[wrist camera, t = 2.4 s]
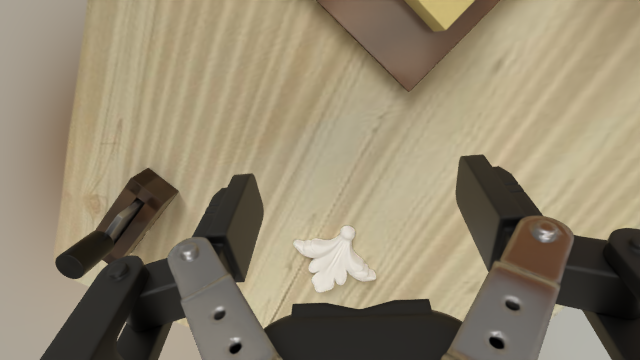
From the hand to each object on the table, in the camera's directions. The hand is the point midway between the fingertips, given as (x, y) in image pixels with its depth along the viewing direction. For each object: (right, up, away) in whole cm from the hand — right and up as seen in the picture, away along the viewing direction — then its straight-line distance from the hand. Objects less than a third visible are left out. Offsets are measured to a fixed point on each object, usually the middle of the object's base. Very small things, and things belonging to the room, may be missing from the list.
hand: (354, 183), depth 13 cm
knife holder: (-22, -4, +25) cm, 34 cm away
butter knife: (-22, -4, +25) cm, 34 cm away
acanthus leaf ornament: (0, -8, +25) cm, 26 cm away
